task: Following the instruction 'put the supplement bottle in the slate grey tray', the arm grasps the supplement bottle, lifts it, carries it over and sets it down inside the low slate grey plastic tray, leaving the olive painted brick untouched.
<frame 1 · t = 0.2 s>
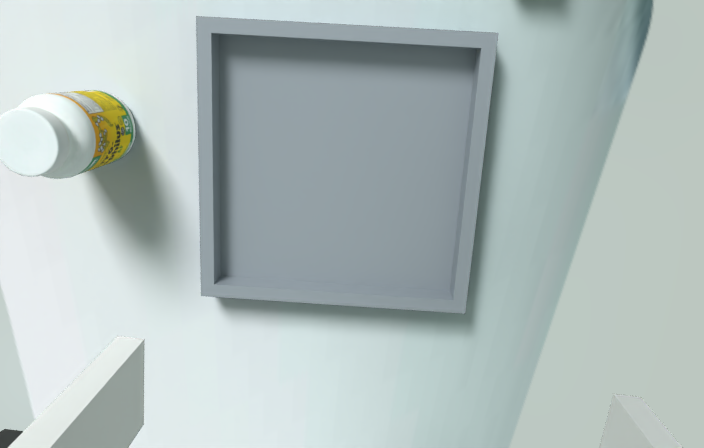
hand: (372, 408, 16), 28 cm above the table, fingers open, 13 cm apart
slate tray: (340, 168, 42), on the table
supplement bottle: (104, 126, 42), on the table
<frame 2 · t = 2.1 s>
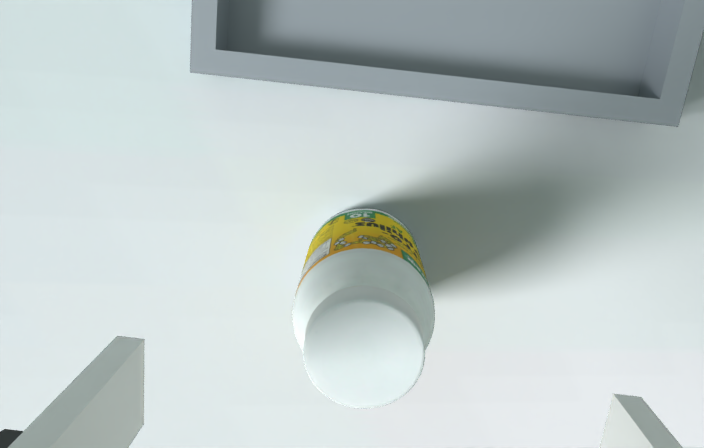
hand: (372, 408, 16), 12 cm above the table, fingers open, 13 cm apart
supplement bottle: (363, 257, 27), on the table
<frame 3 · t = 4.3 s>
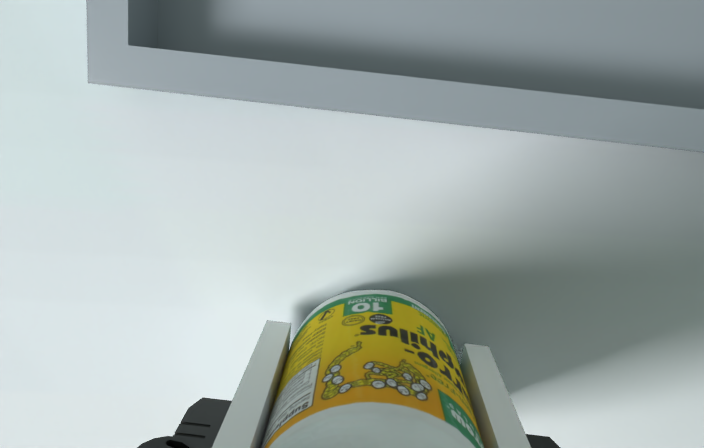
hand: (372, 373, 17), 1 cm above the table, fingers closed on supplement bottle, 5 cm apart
supplement bottle: (373, 357, 18), on the table, touching gripper
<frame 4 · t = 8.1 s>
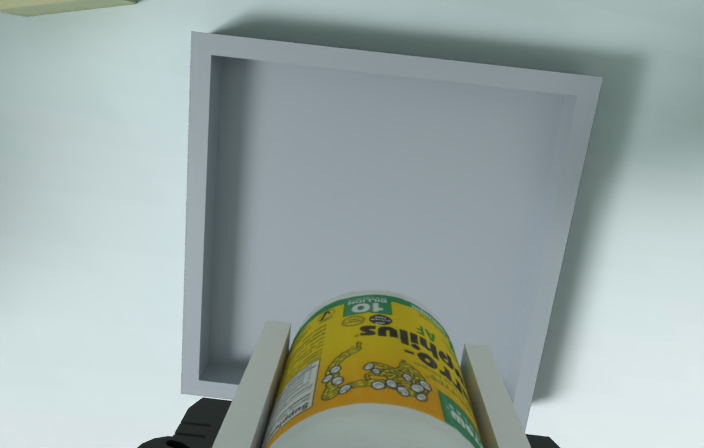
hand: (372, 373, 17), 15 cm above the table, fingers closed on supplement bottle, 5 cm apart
slate tray: (372, 236, 32), on the table
supplement bottle: (373, 357, 18), point 14 cm above the table, touching gripper
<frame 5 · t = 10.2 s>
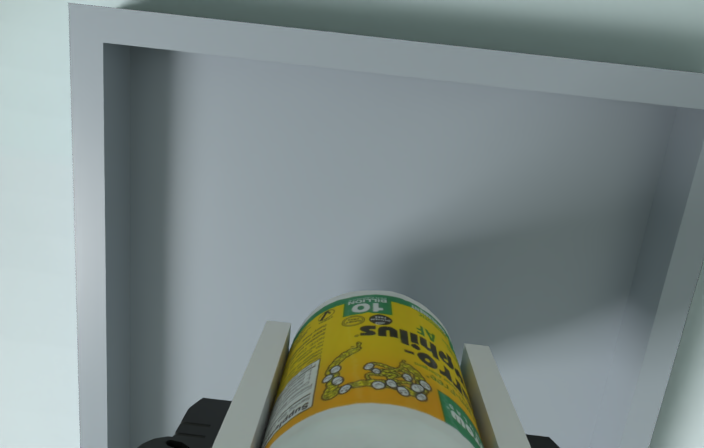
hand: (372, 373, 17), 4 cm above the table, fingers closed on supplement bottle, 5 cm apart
slate tray: (371, 319, 21), on the table
supplement bottle: (373, 357, 18), point 3 cm above the table, touching gripper
when the fingers open (2 cm above the table, at t = 11.9 s): supplement bottle stays where it is, resting on slate tray.
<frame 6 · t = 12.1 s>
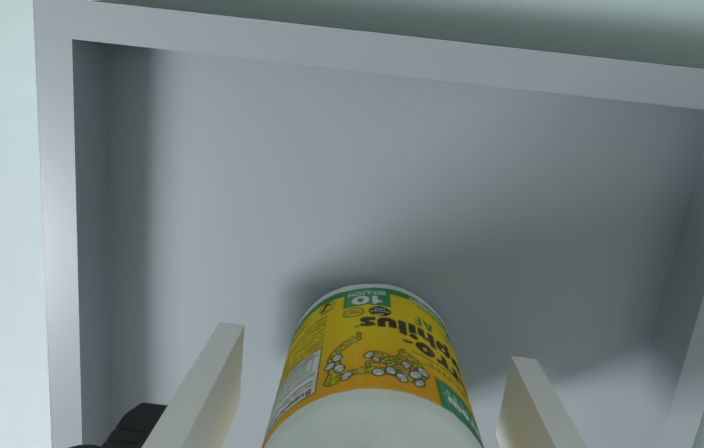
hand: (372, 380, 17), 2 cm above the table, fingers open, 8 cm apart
slate tray: (372, 343, 19), on the table
supplement bottle: (372, 349, 19), resting on slate tray
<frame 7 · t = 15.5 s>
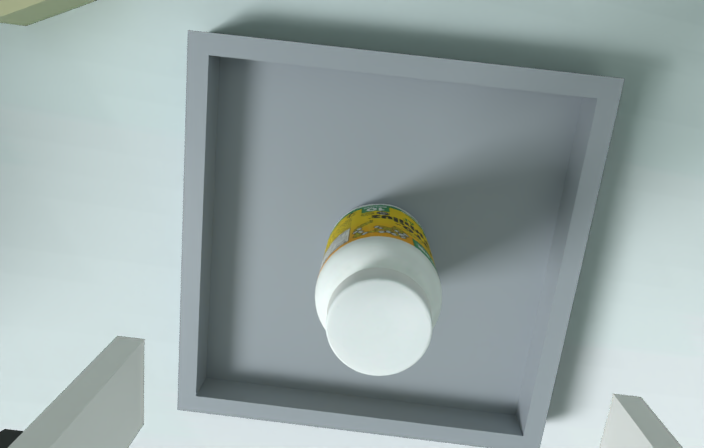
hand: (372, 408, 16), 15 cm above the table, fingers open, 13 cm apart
slate tray: (378, 245, 30), on the table
supplement bottle: (378, 248, 30), resting on slate tray
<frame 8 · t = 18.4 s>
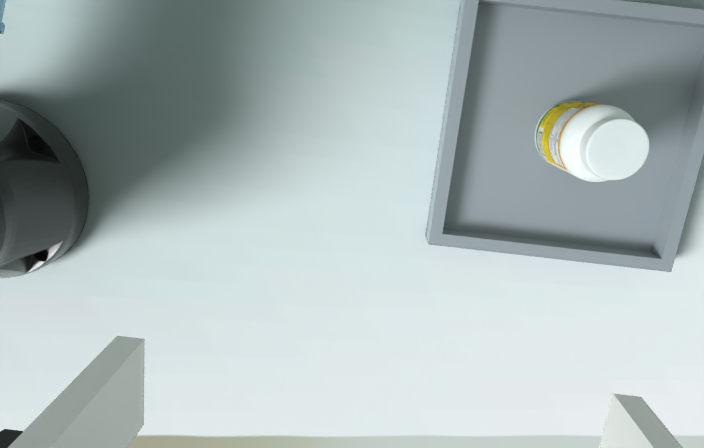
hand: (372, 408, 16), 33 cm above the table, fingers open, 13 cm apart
slate tray: (564, 133, 45), on the table
supplement bottle: (566, 133, 45), resting on slate tray
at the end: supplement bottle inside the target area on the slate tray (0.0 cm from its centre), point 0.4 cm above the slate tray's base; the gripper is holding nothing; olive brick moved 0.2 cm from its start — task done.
